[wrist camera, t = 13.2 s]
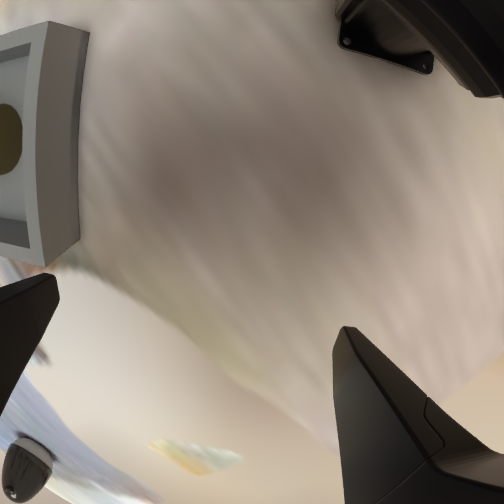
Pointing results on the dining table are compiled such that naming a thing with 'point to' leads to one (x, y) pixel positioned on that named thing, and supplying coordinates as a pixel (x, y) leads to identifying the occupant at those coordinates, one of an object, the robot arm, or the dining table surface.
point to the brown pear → (10, 138)
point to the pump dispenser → (25, 470)
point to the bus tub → (42, 140)
